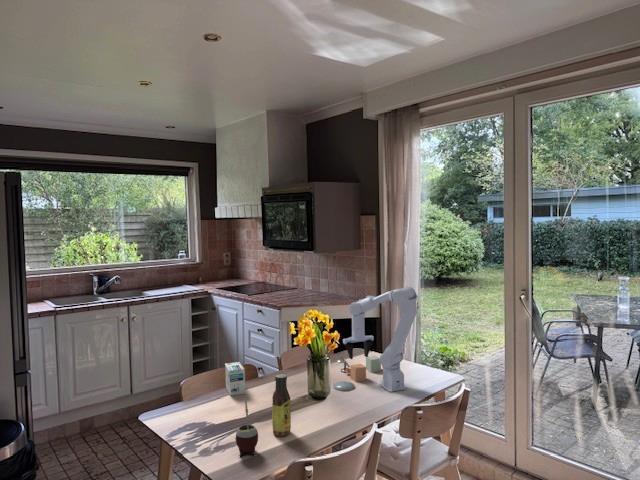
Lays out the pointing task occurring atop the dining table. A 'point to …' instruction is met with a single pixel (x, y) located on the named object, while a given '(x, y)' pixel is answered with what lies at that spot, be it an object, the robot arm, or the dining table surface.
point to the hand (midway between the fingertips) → (358, 357)
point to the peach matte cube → (358, 372)
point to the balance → (345, 370)
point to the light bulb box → (235, 378)
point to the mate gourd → (246, 437)
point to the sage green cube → (373, 363)
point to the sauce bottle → (281, 407)
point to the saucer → (343, 386)
